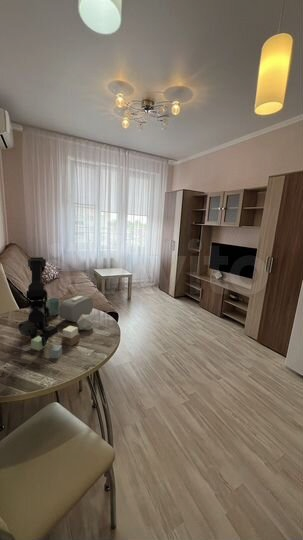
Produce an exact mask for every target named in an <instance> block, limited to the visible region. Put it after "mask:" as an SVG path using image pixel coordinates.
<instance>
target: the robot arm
mask: <svg viewBox="0 0 303 540" xmlns="http://www.w3.org/2000/svg"><path fill="white" fill-rule="evenodd" d="M27 267H29V269H30V272H31V283H29V285H28V287H27V289H28V290H26V307H29V313H28V318H27V320H23V321H22V322H20V323H19V324H18V325H17V326H18V331H19V333H20V335H21V336H25V337H30V341H31V340H32V339H34V338H35V337H37V336H40V337H41V338H42V345H43V347H44V346H45V345H46V343H48V340H49V338H51V337H53V336H54V335H57V334H58V333H59V327H57V326H55V325H54V326H53V325H49V324H48V317H49V316H50V315H49V308H48V306H47V307H46V302H47V299H48V291H47V290H46V289H45V286H44V284H43V272H44V271H45V268H46V267H47V259H46V258H44V257H43V256H37V257H35V256H33V257H30V258H29V259H27ZM38 332H41V334H40V335H38ZM44 348H45V347H44Z"/></svg>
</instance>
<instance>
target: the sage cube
mask: <svg viewBox="0 0 303 540" xmlns="http://www.w3.org/2000/svg"><path fill="white" fill-rule="evenodd" d="M30 343H31V349H32V350H35V351H38V352H39V351H41V350H43V349H44V348H46V347H47V346H48V345H47V343H48V342H47V343H46V345H45V346H44V347H43V345H42V338H41V337H40V336H39V335H37V337H35V338H34V339H32V340H31V339H30Z"/></svg>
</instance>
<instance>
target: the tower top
mask: <svg viewBox="0 0 303 540" xmlns="http://www.w3.org/2000/svg"><path fill="white" fill-rule="evenodd" d="M78 333H79V327H77V326H72V325H68V326H67V327H65V328H63V329H62V336H64V337H67V338H73V337H74V336H76V335H77V334H78Z"/></svg>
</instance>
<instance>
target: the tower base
mask: <svg viewBox="0 0 303 540" xmlns="http://www.w3.org/2000/svg"><path fill="white" fill-rule="evenodd" d="M80 339H81V338H80V333H79V332H78V334H77V335H76V336H74V337H73V338H67V337H64V336H63V335H61V345H65V346H70V347H72V346H74V345H75V344H77V343H79V342H80Z"/></svg>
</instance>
